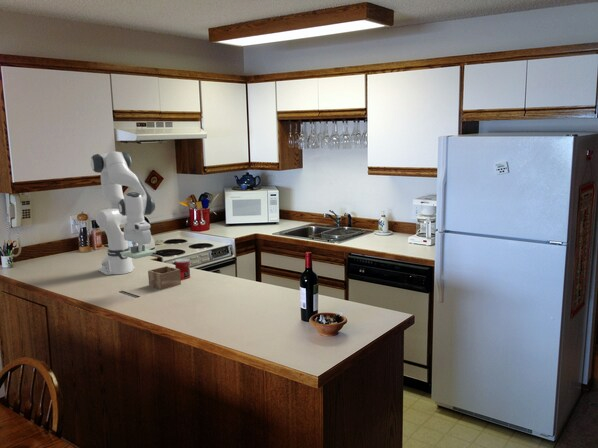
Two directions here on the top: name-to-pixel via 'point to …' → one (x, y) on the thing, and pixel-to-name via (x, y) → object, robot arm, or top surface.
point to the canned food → (183, 267)
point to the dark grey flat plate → (129, 294)
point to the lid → (138, 252)
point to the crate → (164, 277)
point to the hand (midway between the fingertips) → (137, 250)
